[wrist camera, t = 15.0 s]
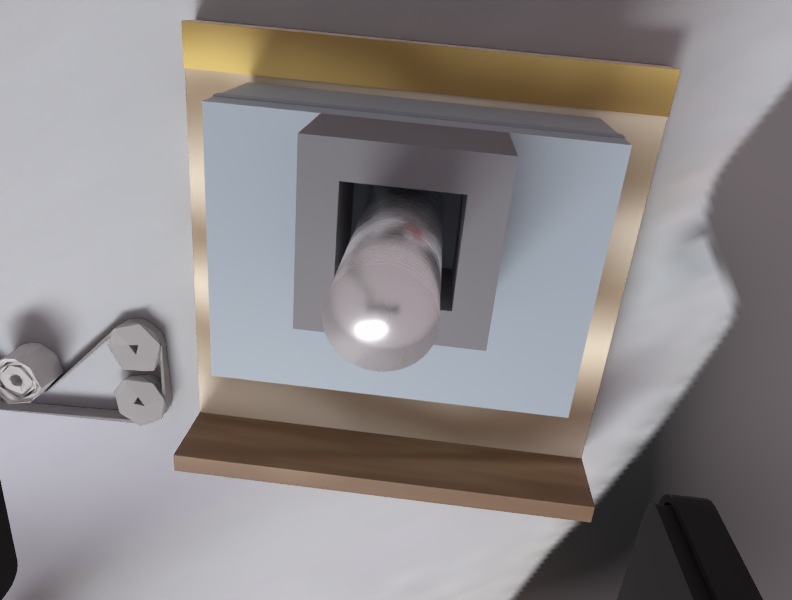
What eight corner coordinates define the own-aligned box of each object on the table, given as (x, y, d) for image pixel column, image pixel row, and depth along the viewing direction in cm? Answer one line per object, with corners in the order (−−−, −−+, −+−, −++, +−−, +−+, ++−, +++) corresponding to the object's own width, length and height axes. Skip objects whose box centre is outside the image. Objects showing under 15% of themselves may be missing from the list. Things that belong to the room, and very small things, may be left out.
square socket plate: (246, 80, 30) (157, 117, 21) (601, 116, 30) (664, 169, 21) (248, 317, 35) (176, 428, 26) (551, 353, 35) (585, 478, 26)
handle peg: (369, 167, 25) (324, 258, 16) (448, 175, 25) (446, 272, 16) (364, 241, 27) (319, 364, 18) (439, 249, 27) (432, 377, 18)
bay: (194, 19, 31) (145, 24, 26) (669, 66, 30) (711, 80, 25) (209, 411, 40) (174, 470, 35) (573, 455, 40) (590, 522, 35)
